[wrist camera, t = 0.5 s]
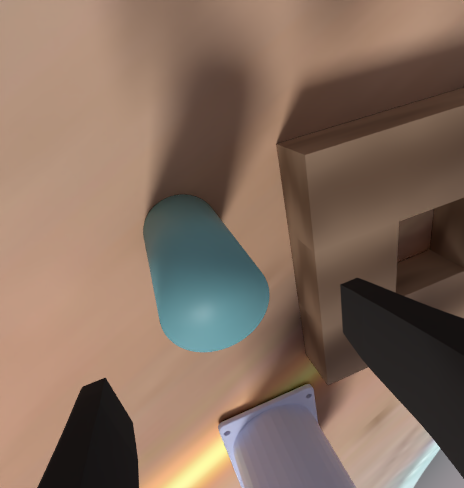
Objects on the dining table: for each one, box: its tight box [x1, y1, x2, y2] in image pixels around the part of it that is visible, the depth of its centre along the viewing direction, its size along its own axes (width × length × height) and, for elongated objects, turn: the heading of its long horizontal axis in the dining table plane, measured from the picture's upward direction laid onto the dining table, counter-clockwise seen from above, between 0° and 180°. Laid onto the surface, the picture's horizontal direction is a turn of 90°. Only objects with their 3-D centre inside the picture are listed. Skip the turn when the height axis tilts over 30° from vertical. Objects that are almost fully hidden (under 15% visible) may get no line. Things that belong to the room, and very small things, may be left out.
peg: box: [143, 194, 269, 352], centre depth 15 cm, size 4×4×7 cm
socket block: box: [276, 87, 464, 385], centre depth 21 cm, size 16×16×3 cm
